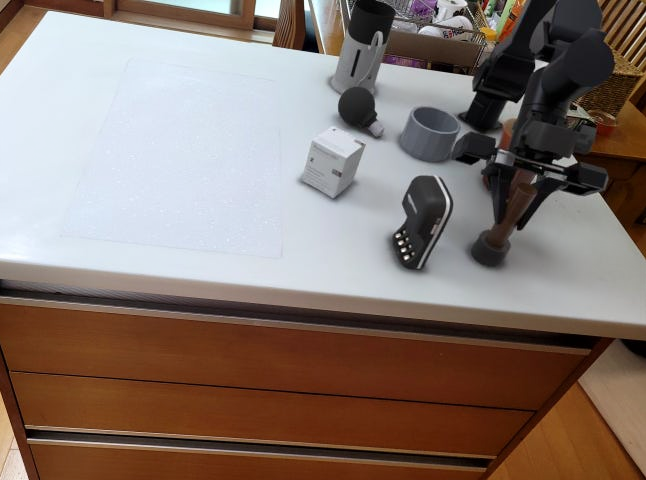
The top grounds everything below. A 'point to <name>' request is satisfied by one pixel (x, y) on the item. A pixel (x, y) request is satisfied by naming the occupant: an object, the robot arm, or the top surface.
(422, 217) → the battery charger
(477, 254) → the brown wooden pestle
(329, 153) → the white cardboard box
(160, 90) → the top surface
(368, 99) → the light bulb
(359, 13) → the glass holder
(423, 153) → the grey stone mortar
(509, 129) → the mug
